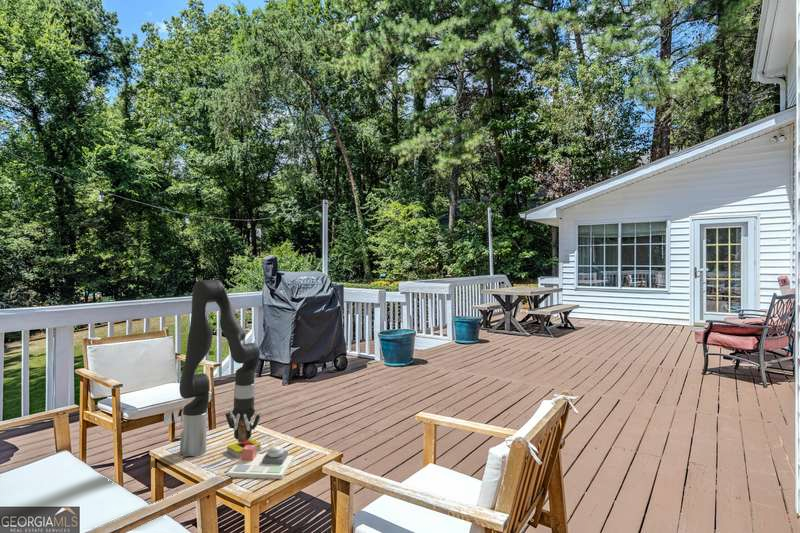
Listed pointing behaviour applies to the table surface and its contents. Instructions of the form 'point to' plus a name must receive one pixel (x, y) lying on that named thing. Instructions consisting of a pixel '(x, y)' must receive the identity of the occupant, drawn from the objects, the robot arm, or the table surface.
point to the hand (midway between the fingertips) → (242, 438)
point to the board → (262, 467)
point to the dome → (275, 451)
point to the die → (249, 452)
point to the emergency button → (240, 449)
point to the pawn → (242, 431)
